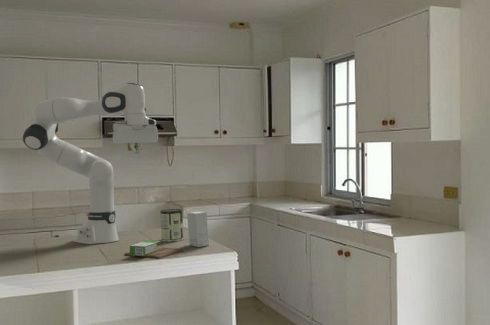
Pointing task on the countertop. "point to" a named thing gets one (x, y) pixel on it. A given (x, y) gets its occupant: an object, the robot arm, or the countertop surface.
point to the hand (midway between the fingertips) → (136, 153)
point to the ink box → (144, 248)
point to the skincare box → (198, 229)
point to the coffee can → (171, 225)
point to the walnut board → (160, 252)
